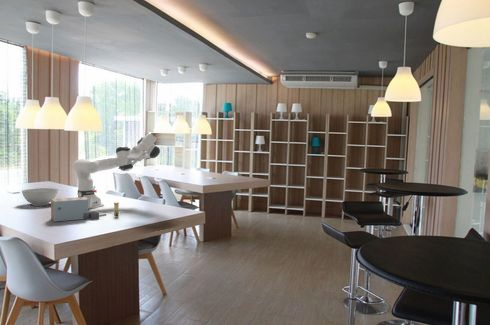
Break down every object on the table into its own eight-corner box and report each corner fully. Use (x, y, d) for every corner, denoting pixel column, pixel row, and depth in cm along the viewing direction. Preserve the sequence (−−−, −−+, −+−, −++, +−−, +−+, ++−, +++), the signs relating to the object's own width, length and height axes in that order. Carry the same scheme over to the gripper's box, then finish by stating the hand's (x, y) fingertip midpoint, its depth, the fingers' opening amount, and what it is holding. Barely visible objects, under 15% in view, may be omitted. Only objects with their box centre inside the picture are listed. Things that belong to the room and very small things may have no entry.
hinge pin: (116, 215, 286) (116, 202, 285) (119, 216, 284) (119, 202, 284) (112, 216, 283) (113, 202, 282) (116, 216, 281) (116, 203, 281)
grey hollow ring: (97, 216, 279) (97, 210, 279) (100, 218, 273) (100, 212, 273) (82, 218, 273) (82, 212, 272) (84, 220, 267) (84, 213, 267)
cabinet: (84, 216, 281) (84, 196, 280) (88, 218, 273) (88, 198, 272) (51, 219, 268) (51, 199, 267) (53, 221, 260) (53, 201, 259)
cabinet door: (87, 218, 272) (87, 198, 272) (88, 218, 270) (88, 199, 269) (53, 221, 260) (53, 201, 259) (54, 221, 258) (54, 201, 257)
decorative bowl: (54, 201, 342) (54, 187, 341) (61, 205, 321) (61, 191, 320) (19, 203, 325) (19, 189, 324) (24, 208, 304) (24, 193, 303)
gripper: (150, 153, 288) (138, 167, 282) (137, 152, 303) (126, 166, 298) (144, 147, 284) (132, 162, 279) (132, 147, 300) (120, 161, 294)
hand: (129, 164), depth 288 cm, fingers open, 8 cm apart
